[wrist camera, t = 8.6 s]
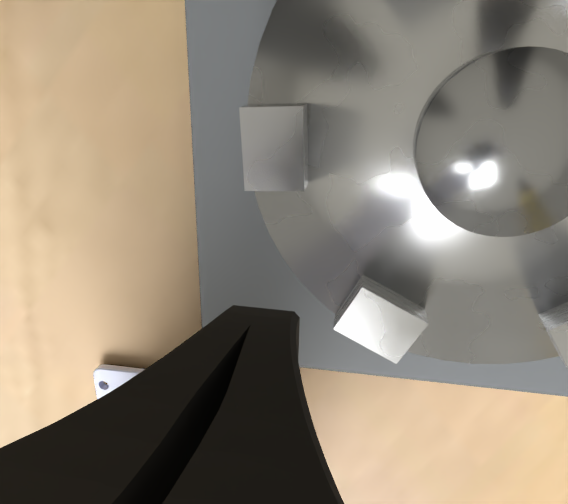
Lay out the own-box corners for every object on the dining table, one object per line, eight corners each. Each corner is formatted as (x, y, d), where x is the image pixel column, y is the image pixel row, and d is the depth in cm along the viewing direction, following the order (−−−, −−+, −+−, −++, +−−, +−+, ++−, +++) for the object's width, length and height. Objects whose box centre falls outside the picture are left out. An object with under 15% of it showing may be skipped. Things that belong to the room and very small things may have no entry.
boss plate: (689, 387, 19) (717, 415, 18) (213, 338, 22) (202, 359, 21) (965, -272, 12) (1056, -321, 10) (189, -226, 15) (169, -259, 13)
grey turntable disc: (681, 344, 17) (863, 508, 11) (268, 323, 19) (224, 448, 13) (854, -190, 12) (1432, -481, 5) (245, -130, 14) (148, -283, 8)
